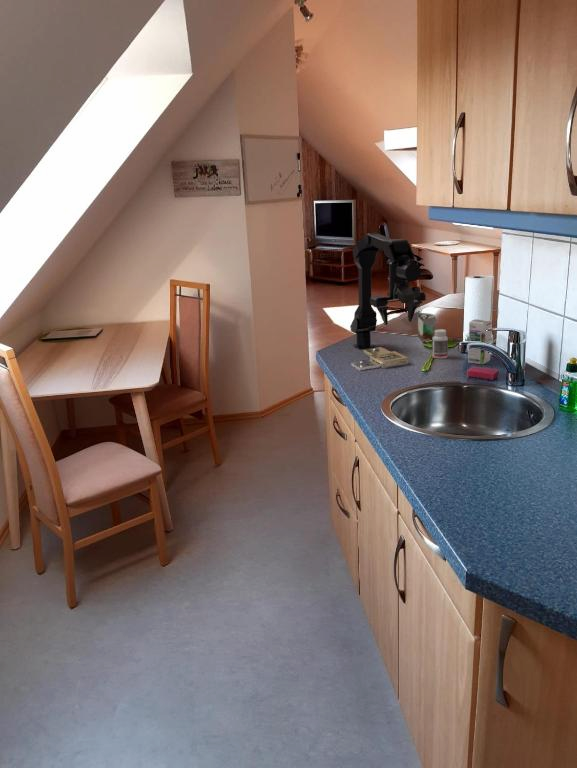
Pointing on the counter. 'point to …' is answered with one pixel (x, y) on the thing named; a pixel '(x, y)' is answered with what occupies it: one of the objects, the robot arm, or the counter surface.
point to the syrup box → (479, 334)
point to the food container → (426, 326)
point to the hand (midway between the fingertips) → (398, 323)
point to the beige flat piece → (380, 359)
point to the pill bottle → (440, 344)
